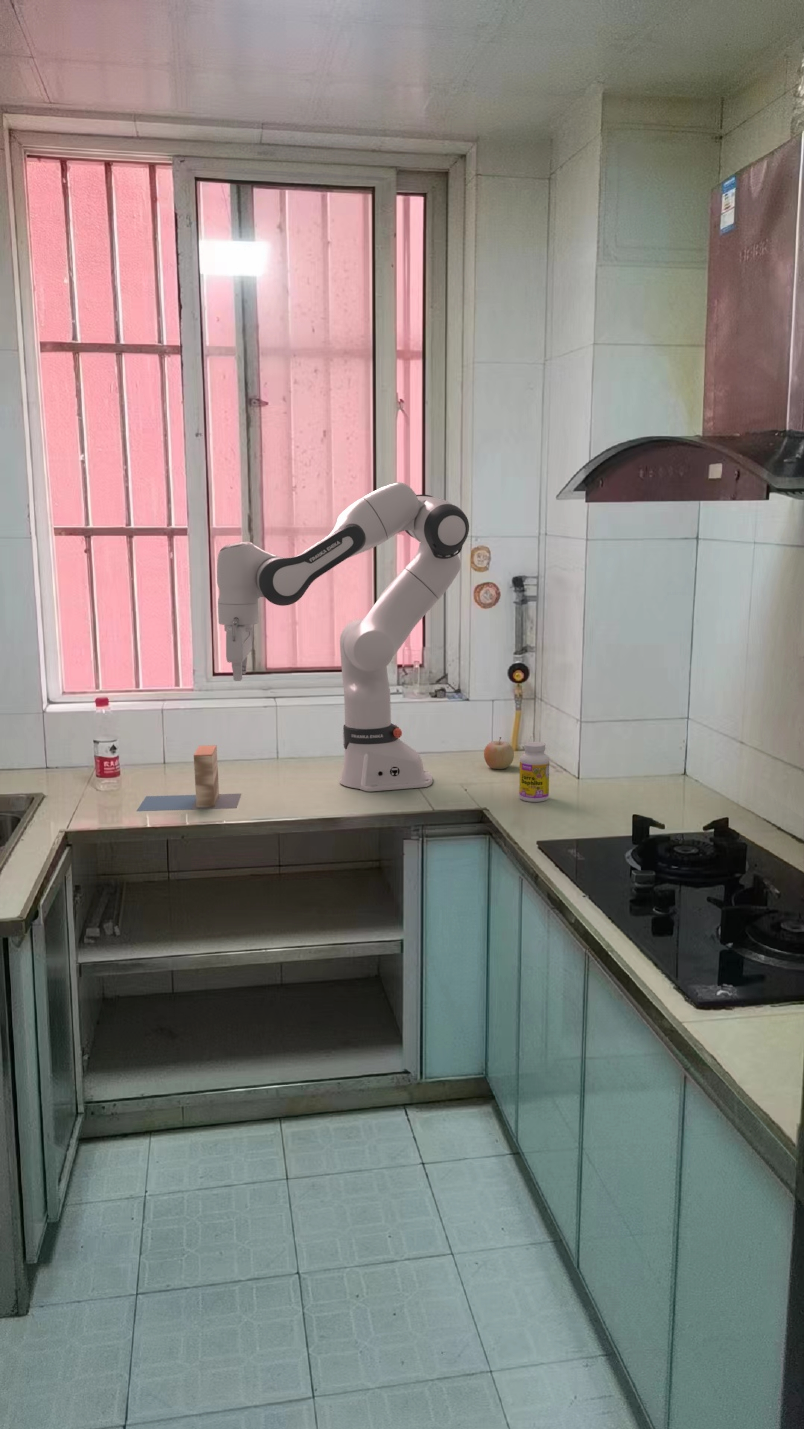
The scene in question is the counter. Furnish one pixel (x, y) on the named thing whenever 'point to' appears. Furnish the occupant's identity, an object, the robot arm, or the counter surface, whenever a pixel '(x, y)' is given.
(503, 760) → the fruit
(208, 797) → the wooden block
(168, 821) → the counter surface
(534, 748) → the supplement bottle
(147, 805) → the rubber mat
